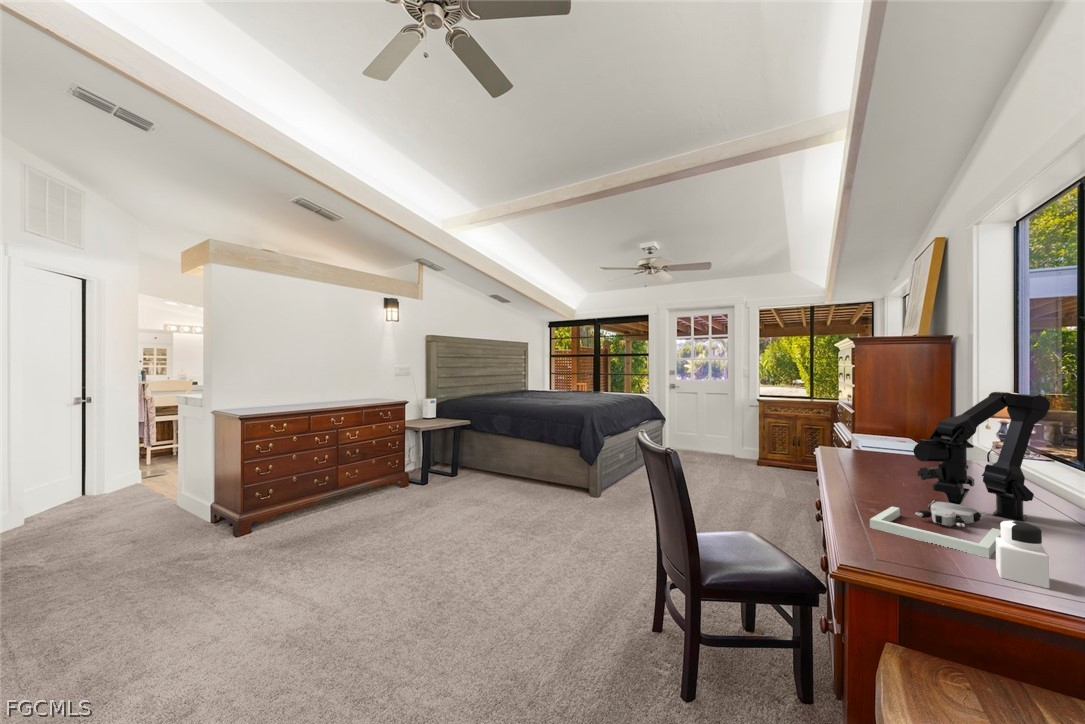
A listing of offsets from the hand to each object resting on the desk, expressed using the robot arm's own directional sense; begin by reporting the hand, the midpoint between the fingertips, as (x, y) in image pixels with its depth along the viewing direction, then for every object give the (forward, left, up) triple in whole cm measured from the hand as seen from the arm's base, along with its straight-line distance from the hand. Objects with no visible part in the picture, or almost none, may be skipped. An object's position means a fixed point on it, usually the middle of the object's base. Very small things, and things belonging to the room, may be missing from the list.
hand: (954, 510), depth 131 cm
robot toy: (+9, +1, -2) cm, 9 cm away
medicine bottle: (+41, +18, -2) cm, 45 cm away
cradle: (+24, 0, -2) cm, 24 cm away
